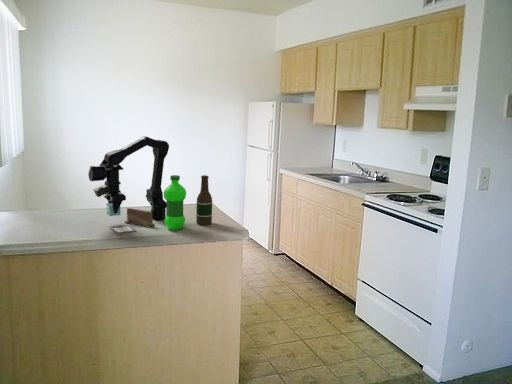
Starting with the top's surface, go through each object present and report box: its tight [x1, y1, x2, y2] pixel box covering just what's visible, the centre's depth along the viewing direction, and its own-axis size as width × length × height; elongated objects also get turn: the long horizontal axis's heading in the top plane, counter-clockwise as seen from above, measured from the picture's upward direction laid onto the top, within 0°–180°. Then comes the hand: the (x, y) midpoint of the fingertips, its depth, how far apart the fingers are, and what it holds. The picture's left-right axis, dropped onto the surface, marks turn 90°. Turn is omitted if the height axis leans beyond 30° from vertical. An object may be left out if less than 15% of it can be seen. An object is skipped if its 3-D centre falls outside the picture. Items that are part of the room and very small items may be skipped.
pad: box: [110, 225, 137, 235], centre depth 203 cm, size 9×9×1 cm
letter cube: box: [105, 202, 121, 217], centre depth 209 cm, size 5×5×5 cm
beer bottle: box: [195, 174, 213, 227], centre depth 217 cm, size 8×8×24 cm
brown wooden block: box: [124, 207, 156, 229], centre depth 213 cm, size 5×14×7 cm, turn 64°
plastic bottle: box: [163, 174, 187, 231], centre depth 207 cm, size 10×10×25 cm
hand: (113, 212), depth 210 cm, fingers closed on letter cube, 5 cm apart
